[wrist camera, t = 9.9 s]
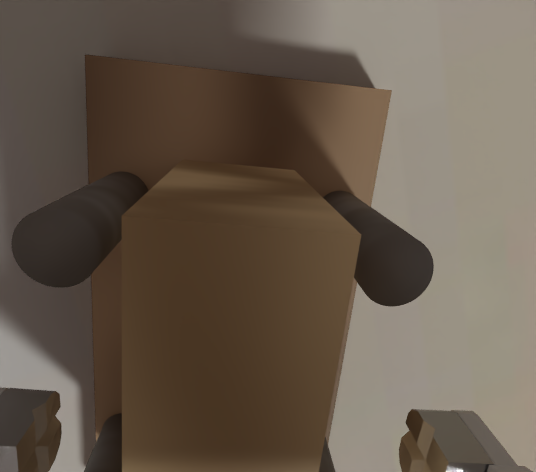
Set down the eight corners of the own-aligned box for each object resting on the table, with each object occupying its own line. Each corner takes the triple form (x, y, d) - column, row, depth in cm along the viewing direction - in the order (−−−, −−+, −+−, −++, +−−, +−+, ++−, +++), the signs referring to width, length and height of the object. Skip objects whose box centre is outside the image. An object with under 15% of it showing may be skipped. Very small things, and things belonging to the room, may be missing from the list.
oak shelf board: (294, 170, 13) (361, 234, 6) (257, 467, 16) (274, 717, 9) (182, 159, 12) (121, 216, 6) (169, 465, 16) (122, 725, 9)
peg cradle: (378, 92, 13) (492, 76, 7) (310, 485, 18) (347, 664, 12) (98, 59, 12) (-25, 11, 6) (106, 484, 17) (40, 677, 11)
